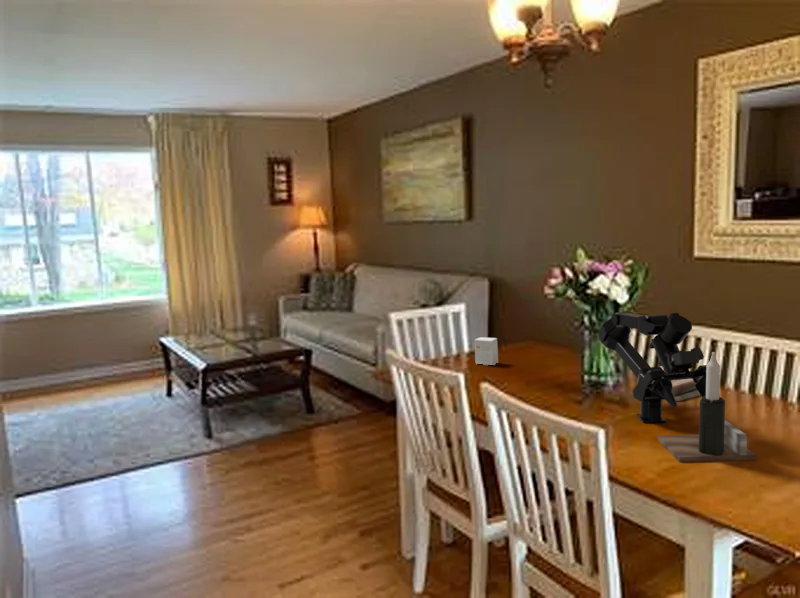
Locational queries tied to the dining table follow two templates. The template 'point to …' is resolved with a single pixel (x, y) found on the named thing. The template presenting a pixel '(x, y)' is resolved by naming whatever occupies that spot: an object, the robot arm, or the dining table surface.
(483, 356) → the small box
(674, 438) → the shelf board
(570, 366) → the dining table surface
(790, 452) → the dining table surface
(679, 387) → the packaged product
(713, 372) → the candle
